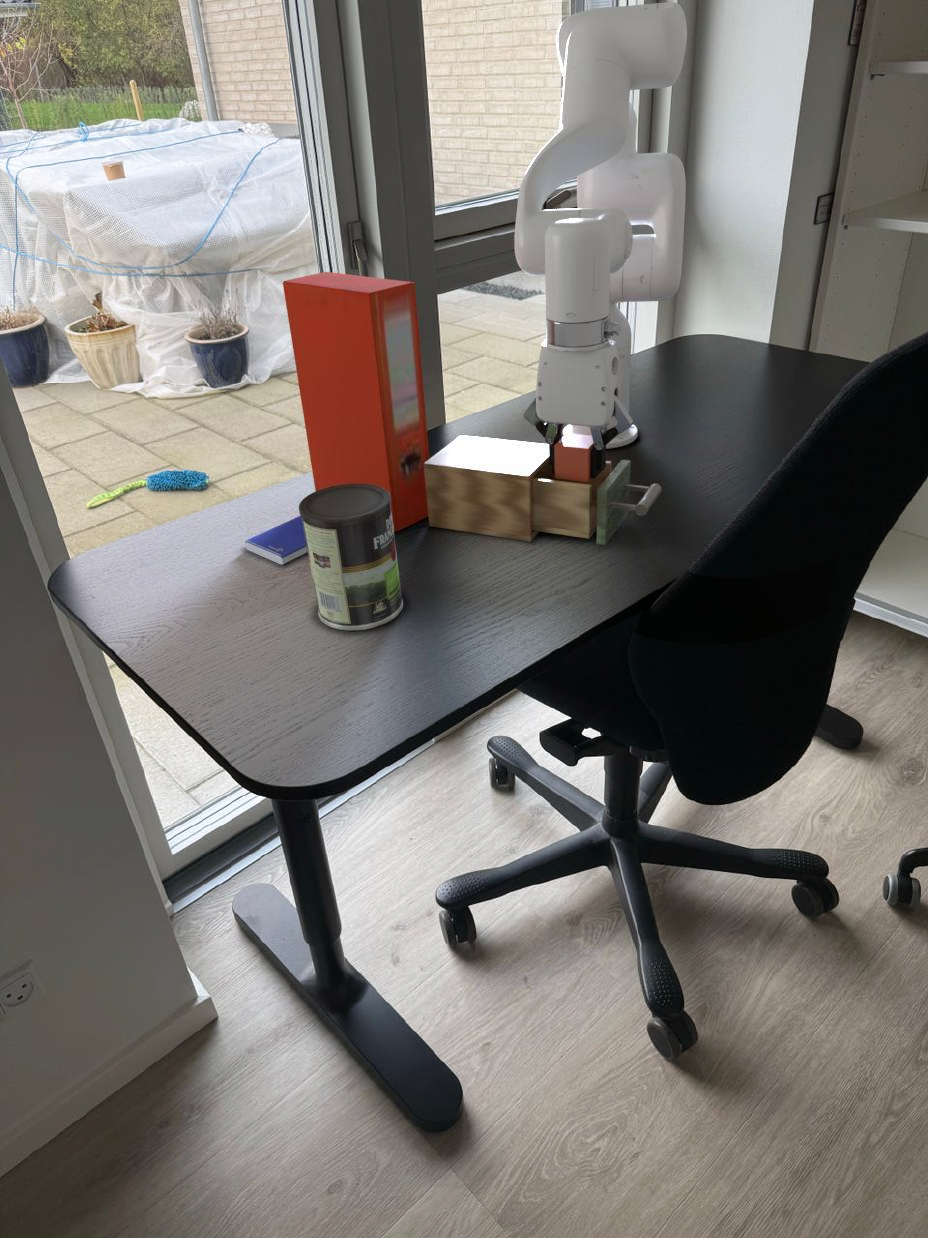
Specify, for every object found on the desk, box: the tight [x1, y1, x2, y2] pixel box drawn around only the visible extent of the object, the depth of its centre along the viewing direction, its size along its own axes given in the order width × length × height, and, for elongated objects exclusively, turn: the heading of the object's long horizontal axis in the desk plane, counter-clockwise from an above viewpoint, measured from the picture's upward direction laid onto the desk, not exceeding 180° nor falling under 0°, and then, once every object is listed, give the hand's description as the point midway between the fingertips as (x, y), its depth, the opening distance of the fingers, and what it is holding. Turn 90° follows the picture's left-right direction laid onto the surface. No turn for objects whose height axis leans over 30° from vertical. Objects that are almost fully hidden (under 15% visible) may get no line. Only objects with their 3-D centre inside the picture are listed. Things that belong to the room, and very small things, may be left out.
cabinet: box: [424, 434, 549, 542], centre depth 121 cm, size 15×11×9 cm
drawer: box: [530, 459, 663, 546], centre depth 116 cm, size 19×10×8 cm, turn 64°
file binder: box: [282, 271, 430, 532], centre depth 121 cm, size 8×17×32 cm, turn 47°
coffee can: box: [298, 483, 404, 632], centre depth 101 cm, size 10×10×14 cm
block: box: [554, 433, 593, 482], centre depth 114 cm, size 5×5×5 cm
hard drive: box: [244, 515, 308, 566], centre depth 121 cm, size 2×8×12 cm
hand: (577, 470), depth 115 cm, fingers closed on block, 4 cm apart
